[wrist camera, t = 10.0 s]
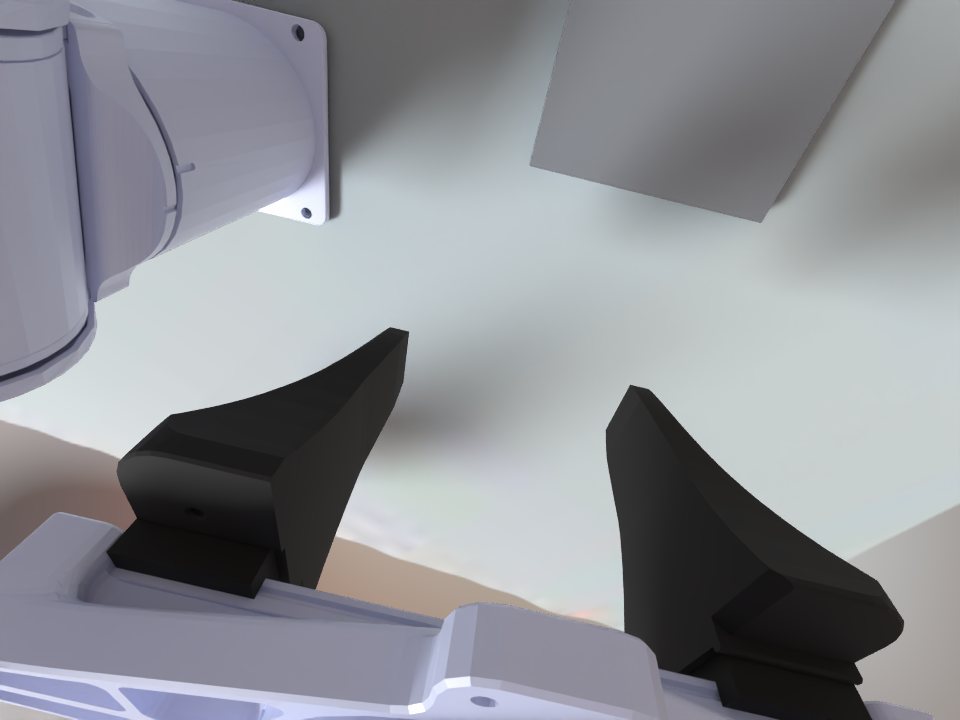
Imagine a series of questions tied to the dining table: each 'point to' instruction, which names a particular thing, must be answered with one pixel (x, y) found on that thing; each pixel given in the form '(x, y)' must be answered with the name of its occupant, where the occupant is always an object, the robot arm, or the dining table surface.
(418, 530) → the dining table surface
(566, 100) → the slate stand
